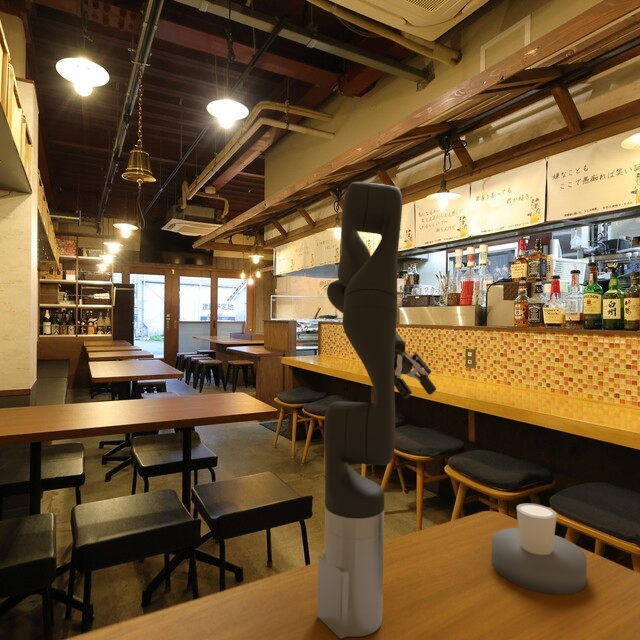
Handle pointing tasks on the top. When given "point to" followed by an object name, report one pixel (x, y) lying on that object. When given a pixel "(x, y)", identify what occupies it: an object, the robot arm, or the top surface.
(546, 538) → the white cup
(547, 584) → the stand
